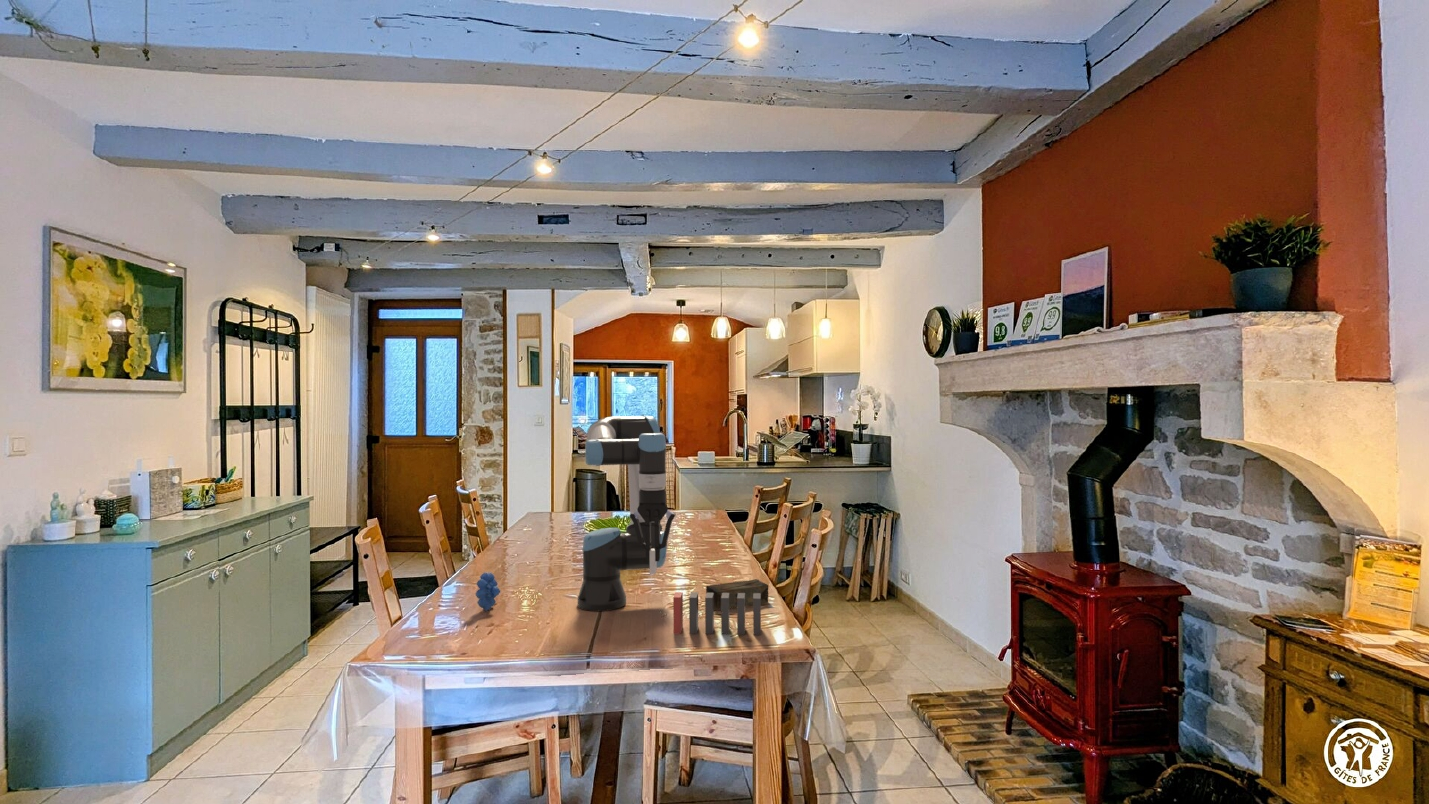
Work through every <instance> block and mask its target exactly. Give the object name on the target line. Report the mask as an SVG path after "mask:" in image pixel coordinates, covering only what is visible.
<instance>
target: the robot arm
mask: <svg viewBox="0 0 1429 804" xmlns="http://www.w3.org/2000/svg"><path fill="white" fill-rule="evenodd" d="M584 446H585V447H584V448H585V450H584V451H585V452H584V453H585V455H584V456H585V464H586V465H587V466H595V467H599V466H616V465H617V466H618V465H623V466H626V465H627V471H628V474H627V475H628V493H629V495H628V496H629V518H630V522H629V524H628V525H627V526H626V528H625V532H621V529H620V528H619V527H606V528H605V527H604V528H599V529H596V530H592V531H590V532H587V533H586V534H585V535H584V536H583V541H582V548H581V549H582V560H583V561H582V584H581V586H580V590H579V592H578V596H577V608H579V609H581V610H584V611H591V612H605V611H612V610H617V609H621V608H622V607H623V606H625V605H626V604H627V595H626V592H625V588H624V585H623V583H622V580H621V571H630V570H631V571H633V570H649V575H656V573H657V569H658V568H659V569H660V568H662V567H663V566H664V565H665V562H666V557H667V549H668V540H669V535H670V531H671V527H672V524H673V523H672V522H673V520H674V519H675V517H676V513H675V512H672V511H671V510H670V509H669V508H668V505H667V490H666V487H667V472H666V471H667V470H666V464H667V463H666V458H667V457H666V456H667V455H666V453H667V449H666V448H667V443H666V436H665V433H661V431H660V427H659V423H658V420H657V419H656V417H655V416H652V415H644V414H642V415H610V416H607V417H606V416H605V417H603V418H600V419H597V420H596V421H595V422H593V423H592V424H591V425H590V426H589V427H588V430H587V432H586V441H585V445H584ZM665 515H666V519H667V520H666V523H665V528H664V529H663V525H662V524H661V521H662V520H663V518H664V517H665Z"/></svg>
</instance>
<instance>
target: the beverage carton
mask: <svg viewBox="0 0 1429 804" xmlns="http://www.w3.org/2000/svg"><path fill="white" fill-rule="evenodd" d="M706 593H714V611H715V612H718V611H721V596H722V593H729V610H730V609H735V608H736V609H737V596H738V593H745V607H748V606H749V607H750V606H753V593H761V604H766V602H767V603H769V584H768V583H765V582H763V581H761V580H760V579H758V578H754V579H749V580H742V581H741V580H740V581H733V582H726V583H716V584H710V585H706V588H705V594H706Z"/></svg>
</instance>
